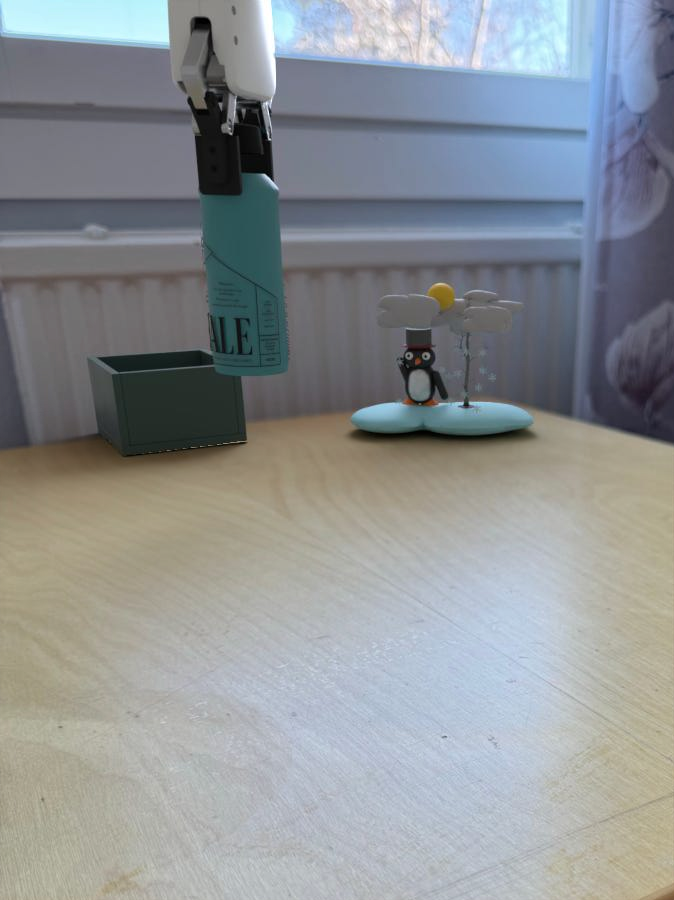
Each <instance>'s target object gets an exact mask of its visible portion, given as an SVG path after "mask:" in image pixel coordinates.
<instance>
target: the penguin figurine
mask: <svg viewBox="0 0 674 900" xmlns="http://www.w3.org/2000/svg"><path fill="white" fill-rule="evenodd" d="M377 307H378V308H379V309H383V310H382V311H380V312H379V313H378V314H377V316H376V317H377V319H376V320H377V321H376V323H377V324H378V326H379V327H381V328H386V329H400V328H403V327H406V328H405V343H404V344H401V347H402V348H406V349H405V351H404V352H403V355H402V356H398V357H397V358H396V359H395V362H396V366H398V369H399V371H400V374H401V376H402V378H403V380H404V389H405V394H406V396H407V398H405V399H404V400H403V398H401V399H400V398H398V399H395V401H396V402H385V403H379V404H375V405H370V406H367V407H363V408H361V409H359V410H356V411H355V412H354V413H353V414H352V415H351V417H350V423H352V425H353V426H354V427H355V428H358V429H360V430H362V431H365V432H372V433H378V434H403V433H411V432H416V431H429V432H433V433H437V434H443V435H449V436H450V435H452V436H483V435H484V436H485V435H495V434H502V433H506V432H511V431H515V430H522V429H526V428H528V427H531V426H533V424H534V422H535V420H534V418H533V416H532V415H531V414H530V413H529V412H527V411H526V410H524V409H523V408H521V407H519V406H516V405H513V404H507V403H503V402H494V401H493V402H492V401H469V382H470V381H472V379H470V380H469V378H470V364H471V361H472V360H474V359H475V357H472V358H471V352H470V349H471V348H470V347H471V346H470V342H469V340H470V339H469V337H477V336H479V335H480V333H485V334H507V333H510V332H511V331H512V330H513V329H512V328H513V326H514V320H513V315H518V314H519V313H522V312H523V311H524V309H525V303H523V302H519V301H513V300H512V301H511V300H500V299H499V294H498V293H495V292H492V291H485V290H482V289H481V290H480V289H476V290H475V289H474V290H470V291H467V292H465V293H464V294H463V296H462V298H456V295H455V291H454V289H453V287H452V286H450V284H447V283H444V282H438V283H436V284H433V285H432V286H431V287H430V288H429V289H428V291H427V295H424V294H417V293H409V294H407V295H403V294H392V295H391V294H389V295H384V296H382V297H381V298H380V299H379V300H378V305H377ZM445 326H449V332H450V333H452V334H454V335H456V336H459V337H461V339H460V338H458V340H459V342H460V345H458V344H457V343H455V345H454V346H451V352H455V354H458V352H460V351H461V352H462V353H461V356H462V360H465V361H466V363H465V364H466V365H465V370H464V369H463V368H461V367H460V369H461V370H459V368H458V367H457V368H456V370H455V372H454V374H453V373H450V372H447V371H446V370H445V369H446V366H444V367H442V368H440V367H439V366H438V367H437V369H438V370H437V369H434V368H433V365H434V364H435V362H436V353H435V351H434V350H433V349H432V348H436V347H437V345H436V344H434V343H432V342H433V341H432V340H433V339H432V338H433V337H432V329H434V328H439V327H441V328H442V327H445ZM464 337H466V339H465V348H464V349H463V340H464V339H463V338H464ZM454 339H457V337H455V336H454ZM486 352H488V349H485V348H484V347H482V349H481V350H479V349H478V356H477V358H478V357H480V356H481V355H482V359H484V356H488V354H487V353H486ZM487 369H488V368H487V367H485V369H484V368H482V367H481V368H480V367H478V370H479V371H478V374H482V376H484V375H485V374H488V372H487ZM440 372H441V374H442V375H443V374H444V376H445V377H444V380H447V382H450V381H451V380H453V377H456V378H457V379H459V378H460V376H463V374H462V372H463V373H465V376H464V385H463V392H462V391H461V394H460V397H462V398H463V401H455V400H456V398H452V397H449V393H448V391H447V388H446V386H445V383H444V381H443V378H442V376H441V374H440ZM444 372H447V374H446V373H444ZM452 376H453V377H452ZM496 377H497V374H494V373H493V372H491V373H490V375H489V376H488V379H489V381H491V383H494V380H495V381H496V380H497V378H496ZM483 386H484V385H483V384H481V385H480V384H477V385H474V387H475V389H474V391H477V392H478V393H480V392H481V387H483ZM436 390H437V392H438V394H439V396H440V398H441V400H443V401H447V402H440V403H439V402H437V401H436V400H435V398H434V397H435V395H436Z"/></svg>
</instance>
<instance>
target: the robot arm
mask: <svg viewBox="0 0 674 900" xmlns="http://www.w3.org/2000/svg"><path fill="white" fill-rule="evenodd" d="M271 4H272V2H271V0H167V22H168V39H169V40H168V41H169V55H170V56H169V57H170V70H171V80H172V82H173V84H174V86H175V87H176V88H177V90H178V91H180V92H181V93H182V94H184V95H185V96H187V98H186V101H187V105H188V106H189V108H190V111H191V121H190V122H191V125H190V126H191V130H192V132H193V134H194V144H195V145H194V146H195V158H196V168H197V179H198V180H197V181H198V186H199V191H200V192H201V194H203V195H229V196H239V195H241V194H242V191H243V189H242V175H241V173H254V174H265V175H266V176H267V177H269V178H270V180H271V181H272V182H273V183H274V184H275V173H274V157H273V155H274V154H273V141H272V140H273V129H272V124H271V123H272V122H271V118H272V117H273V115H272V114H273V111H272V108H271V107H272V102H273V98H274V96H275V94H276V90H277V89H276V87H277V74H276V73H277V71H276V70H277V69H276V50H275V48H276V47H275V37H274V36H275V35H274V25H273V15H272V14H273V13H272V5H271ZM220 104H221V106H220ZM243 110H244V111H245V113H244V114H243ZM234 123H243V124H248V125H253V126H258V127H259V128H260V133H261V141H262V146H263V154H240V146H239V136H228V135H232V134H233V130H234Z"/></svg>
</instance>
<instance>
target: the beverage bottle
mask: <svg viewBox="0 0 674 900" xmlns="http://www.w3.org/2000/svg"><path fill="white" fill-rule="evenodd" d="M228 136H239V146H240V154H263V146H262V141H261V133H260V128H259V127H258V126H253V125H248V124H243V123H234V130H233V134H232V135H228ZM241 175H242V189H243V191H242V194H241V195H239V196H229V195H203V194H201V192H200V191H199V185H198V187H197V193H198V195H199V196H198V197H199V204H200V205H199V206H200V215H201V217H200V218H201V223H200V228H199V229H202V231H201V232H202V234H201V232H200V235H202V236H200V242H201V247H202V248H203V249H202V250H201V252H202V253H201V254H202V256H201V257H202V258H204V262H202V265H204V266H205V267H202V268H203V270H204V269H205V272H203V273H204V275H205V278H206V279H205V280H206V293H207V295H205V299H206V301H205V302H206V304H207V303H208V305H207V308H208V312H207V319H208V333H209V334H208V335H209V336H208V337H209V348H210V351H211V352H212V353H211V354H212V355H213V356H211V357H213V359H212V360H213V361H214V362H212V363H214V367H215V370H216V372H218V373H221V374H225V375H233V376H241V377H267V376H276V375H281V374H284V373H287V372H288V370H289V364H290V363H289V362H290V357H289V356H291V354H290V349H291V348H290V346H289V340H290V337H289V336H290V335H289V328H287V327H289V324H287V319H288V311H286V309H288V303H287V302H286V301H287V300H288V298H287V296H285V290H286V285H285V284H284V275H283V255H282V237H281V236H282V235H281V219H280V200H279V196H280V189H279V187H278V186H277V185H276V184H275V182H274V183H273V182H272V181H271V180H270V178H269V177H267V176H266V175H265V174H254V173H241ZM212 360H211V361H212Z"/></svg>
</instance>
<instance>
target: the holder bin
mask: <svg viewBox="0 0 674 900" xmlns="http://www.w3.org/2000/svg"><path fill="white" fill-rule="evenodd" d="M212 352H213V351H211V350H208V349H207V348H196V349H193V348H192V349H181V350H167V351H165V350H163V351H150V352H135V353H123V354H121V353H120V354H109V355H107V354H106V355H94V356H93V355H92V356H87V357H86V361H87V368H88V374H89V381H90V386H91V392H92V401H93V407H94V412H95V419H96V426H97V432H98V434H99V435H100V436H102V437H103V438H104V439H105V440H106V439H107V440H108V441H110V443H111V444H112V445H113V446H114V447H115V448H116V449H117V450H118V451H119V452H120V453H121V454H122V455H123V456H125V457H127V456H126V455H134V456H137V455H136V454H143V453H149V452H159V451H167V450H175V449H183V448H191V447H200V446H208V445H217V444H223V443H230V442H237V441H246V440H247V441H248V434H247V424H246V414H245V402H244V391H243V381H242V376H233V375H225V374H221V373H218V372H216V370H215V367H214V363H212V362H214V361H213V360H212V359H213V357H211V356H213V355H212V354H211V353H212ZM211 360H212V361H211ZM107 440H106V441H107ZM108 441H107V442H108ZM110 443H109V444H110ZM111 444H110V445H111ZM112 445H111V446H112ZM113 446H112V447H113ZM114 447H113V448H114ZM115 448H114V449H115ZM116 449H115V450H116ZM117 450H116V451H117ZM118 451H117V452H118ZM119 452H118V453H119ZM120 453H119V454H120ZM121 454H120V455H121ZM122 455H121V456H122ZM143 455H144V454H143ZM123 456H122V457H123Z"/></svg>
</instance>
